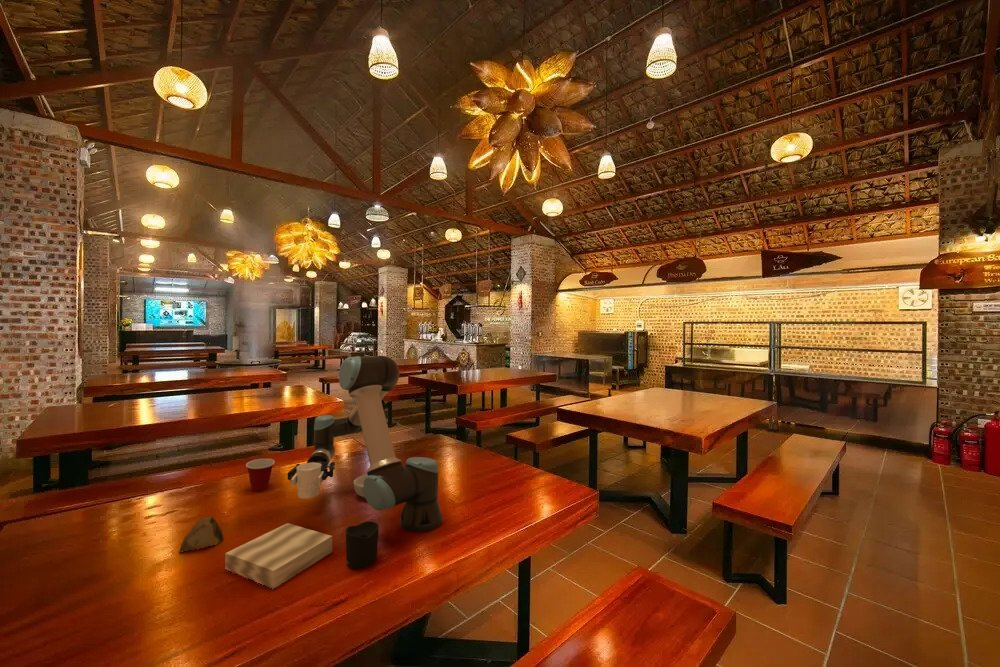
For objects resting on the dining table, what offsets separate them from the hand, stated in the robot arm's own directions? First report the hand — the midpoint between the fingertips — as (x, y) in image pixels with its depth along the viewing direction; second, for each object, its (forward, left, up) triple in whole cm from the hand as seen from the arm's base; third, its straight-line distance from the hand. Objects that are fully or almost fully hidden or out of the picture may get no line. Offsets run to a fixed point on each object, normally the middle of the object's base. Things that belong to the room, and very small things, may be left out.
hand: (305, 482), depth 133 cm
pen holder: (-28, +3, -18) cm, 34 cm away
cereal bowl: (+2, -37, -18) cm, 41 cm away
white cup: (+3, -4, -6) cm, 8 cm away
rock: (+24, +18, -18) cm, 35 cm away
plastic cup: (+50, -20, -18) cm, 57 cm away
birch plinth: (-6, +13, -18) cm, 23 cm away
